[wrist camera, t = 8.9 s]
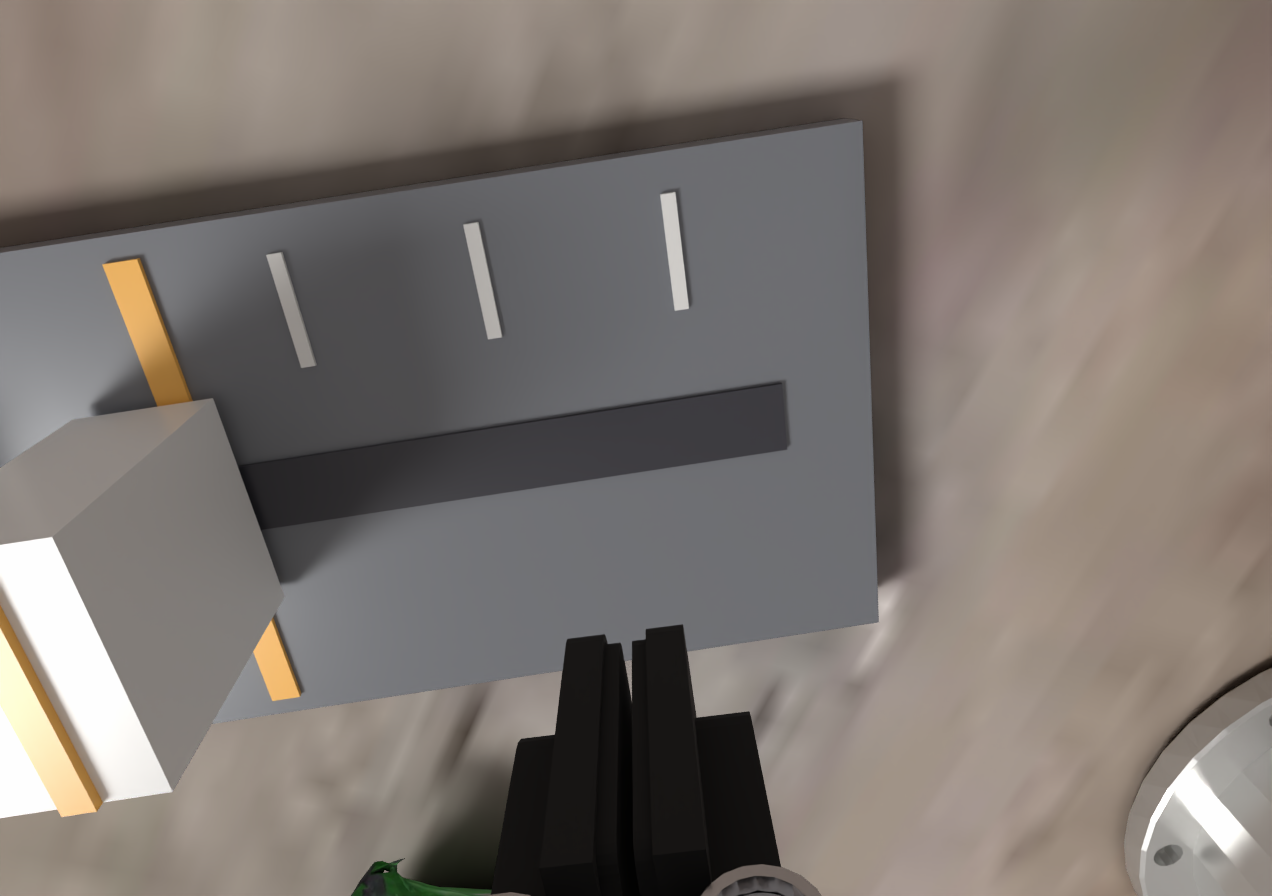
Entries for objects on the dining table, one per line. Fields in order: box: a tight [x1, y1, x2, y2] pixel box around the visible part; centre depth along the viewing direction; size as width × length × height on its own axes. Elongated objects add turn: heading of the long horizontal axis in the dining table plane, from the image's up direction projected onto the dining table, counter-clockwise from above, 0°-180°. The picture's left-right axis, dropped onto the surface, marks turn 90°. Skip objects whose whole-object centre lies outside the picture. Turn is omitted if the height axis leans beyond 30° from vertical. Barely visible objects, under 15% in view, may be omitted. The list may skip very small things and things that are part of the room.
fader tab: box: [0, 398, 285, 818], centre depth 16 cm, size 3×5×6 cm, turn 8°
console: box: [0, 118, 879, 724], centre depth 19 cm, size 22×12×4 cm, turn 98°
